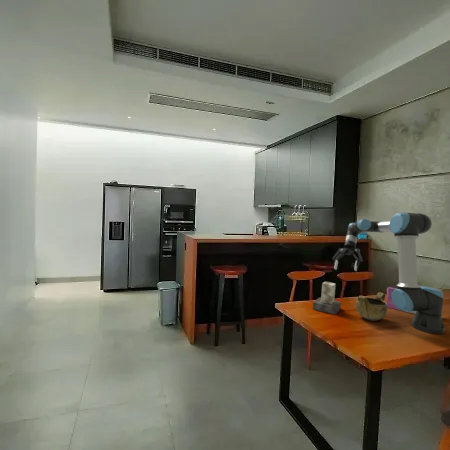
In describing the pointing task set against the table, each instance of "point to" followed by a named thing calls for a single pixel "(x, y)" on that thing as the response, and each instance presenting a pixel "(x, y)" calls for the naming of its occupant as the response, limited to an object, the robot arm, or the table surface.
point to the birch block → (328, 292)
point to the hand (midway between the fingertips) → (345, 269)
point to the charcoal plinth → (327, 306)
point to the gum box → (390, 302)
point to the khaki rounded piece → (372, 307)
